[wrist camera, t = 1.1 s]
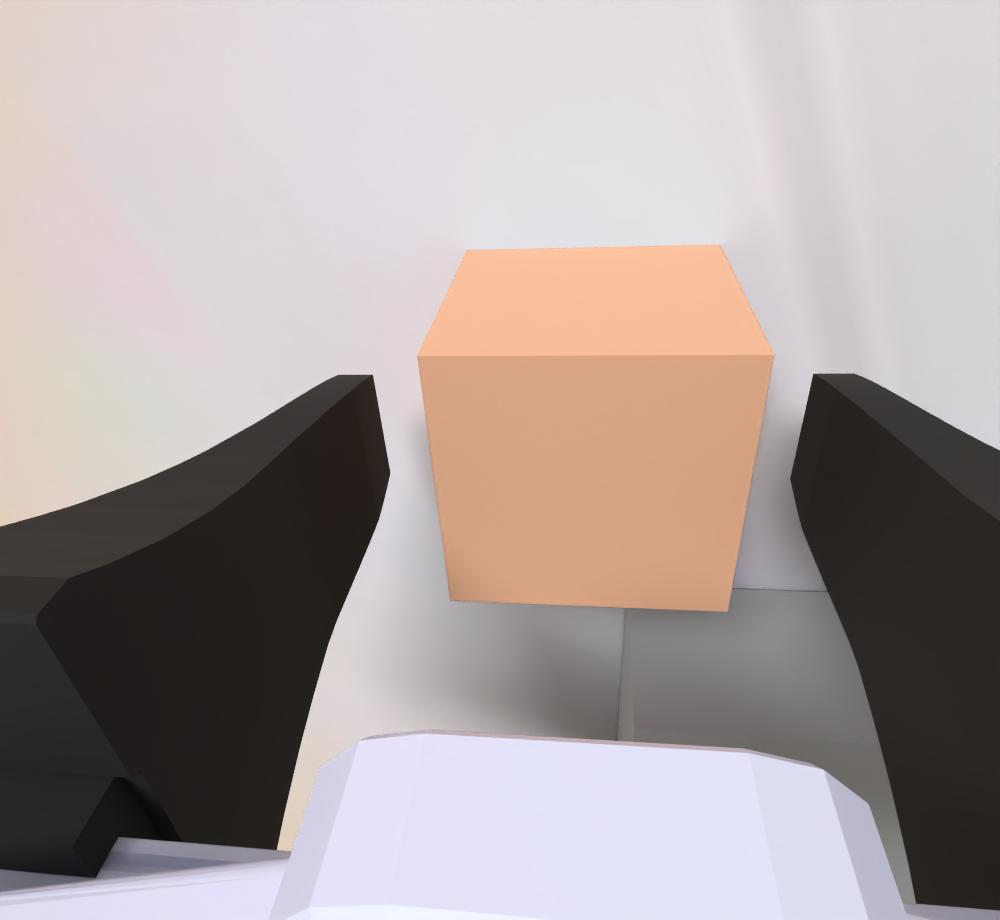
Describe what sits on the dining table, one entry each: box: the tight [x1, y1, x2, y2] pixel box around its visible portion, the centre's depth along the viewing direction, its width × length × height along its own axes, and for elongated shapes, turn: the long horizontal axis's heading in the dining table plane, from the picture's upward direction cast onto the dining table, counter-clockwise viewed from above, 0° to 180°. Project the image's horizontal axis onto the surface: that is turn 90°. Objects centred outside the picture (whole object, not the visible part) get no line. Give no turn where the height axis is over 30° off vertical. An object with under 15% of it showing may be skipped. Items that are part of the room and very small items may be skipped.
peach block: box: [417, 245, 774, 612], centre depth 12 cm, size 4×4×4 cm
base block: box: [617, 589, 916, 904], centre depth 17 cm, size 10×10×4 cm
